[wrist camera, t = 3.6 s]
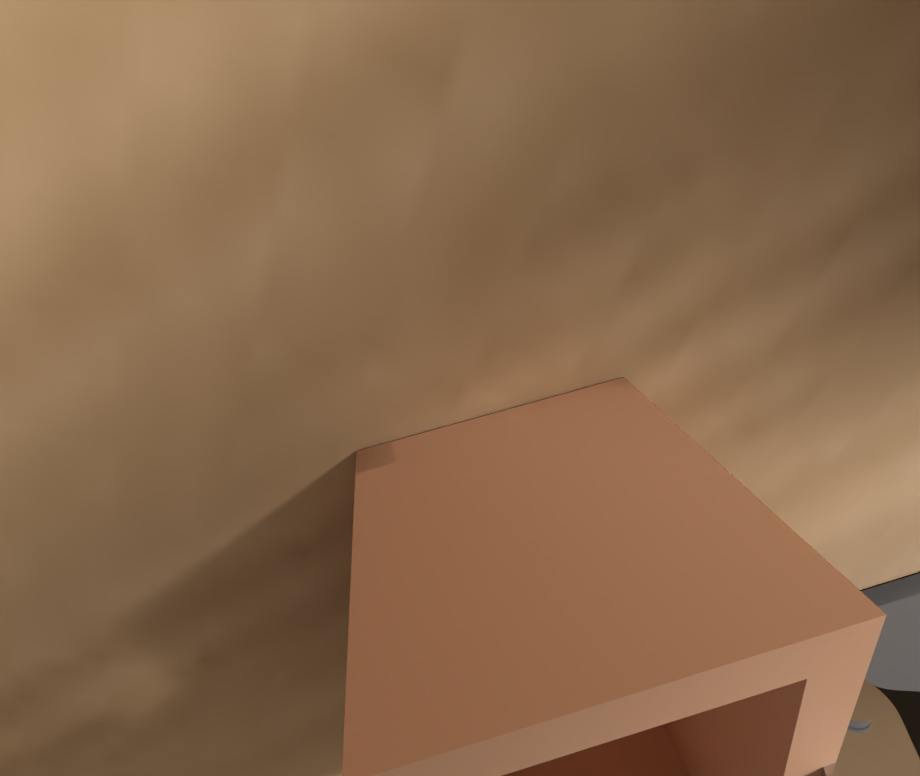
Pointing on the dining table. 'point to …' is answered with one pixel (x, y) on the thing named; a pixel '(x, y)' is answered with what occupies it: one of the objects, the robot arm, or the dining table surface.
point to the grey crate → (897, 635)
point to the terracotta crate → (588, 606)
